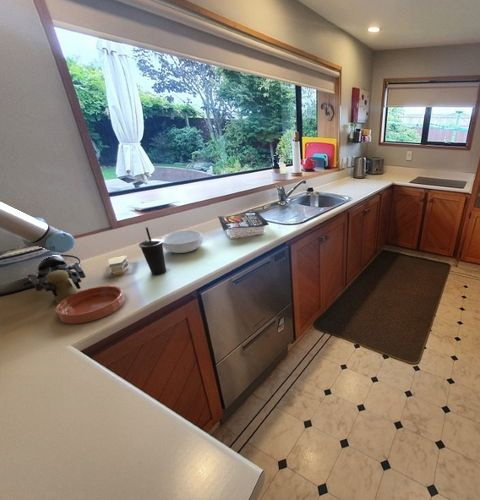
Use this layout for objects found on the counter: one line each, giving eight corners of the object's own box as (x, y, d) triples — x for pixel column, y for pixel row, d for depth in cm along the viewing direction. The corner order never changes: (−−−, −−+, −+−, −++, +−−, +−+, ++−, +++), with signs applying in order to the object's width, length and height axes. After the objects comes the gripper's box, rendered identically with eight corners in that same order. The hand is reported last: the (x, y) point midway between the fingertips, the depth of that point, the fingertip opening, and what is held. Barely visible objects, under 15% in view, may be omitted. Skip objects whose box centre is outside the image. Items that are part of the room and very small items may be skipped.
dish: (47, 328, 83) (41, 318, 82) (80, 297, 97) (76, 288, 96) (111, 322, 87) (106, 311, 85) (133, 293, 101) (130, 283, 100)
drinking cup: (167, 267, 119) (155, 222, 111) (172, 273, 114) (160, 228, 106) (146, 272, 114) (132, 226, 106) (150, 280, 109) (136, 232, 101)
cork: (82, 298, 97) (71, 271, 92) (59, 307, 92) (45, 278, 88) (76, 292, 100) (64, 265, 95) (53, 300, 95) (39, 272, 91)
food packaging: (217, 215, 160) (257, 210, 171) (219, 227, 163) (258, 222, 174) (223, 229, 141) (268, 223, 151) (226, 243, 144) (269, 236, 154)
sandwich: (134, 274, 113) (130, 262, 110) (105, 279, 108) (100, 267, 106) (135, 264, 120) (132, 252, 118) (109, 268, 116) (105, 256, 114)
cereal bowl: (167, 261, 124) (163, 246, 121) (161, 248, 135) (158, 234, 132) (208, 252, 134) (206, 238, 131) (200, 240, 145) (197, 227, 142)
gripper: (86, 266, 112) (104, 287, 99) (20, 284, 99) (31, 310, 86) (79, 249, 109) (97, 268, 96) (10, 265, 96) (20, 290, 83)
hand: (66, 288), depth 91 cm, fingers open, 5 cm apart
